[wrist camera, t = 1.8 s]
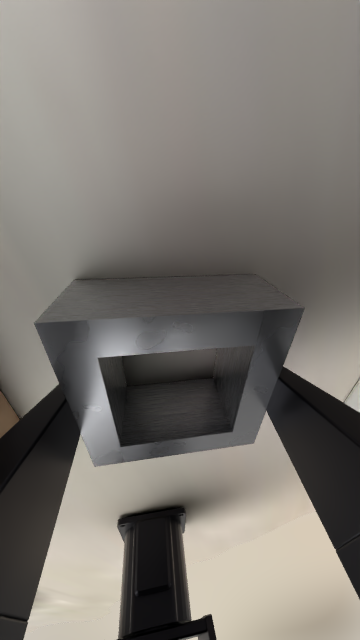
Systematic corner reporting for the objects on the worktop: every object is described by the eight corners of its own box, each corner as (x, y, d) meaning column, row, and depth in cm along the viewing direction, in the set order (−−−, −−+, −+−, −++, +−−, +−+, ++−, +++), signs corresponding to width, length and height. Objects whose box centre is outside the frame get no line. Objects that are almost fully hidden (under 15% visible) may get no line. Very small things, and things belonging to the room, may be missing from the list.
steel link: (230, 390, 12) (253, 443, 9) (106, 403, 11) (94, 466, 8) (255, 274, 8) (304, 308, 6) (73, 279, 7) (33, 323, 5)
